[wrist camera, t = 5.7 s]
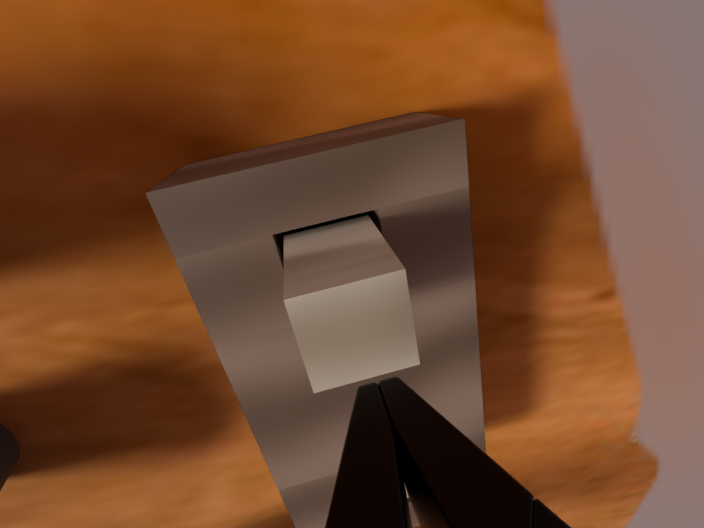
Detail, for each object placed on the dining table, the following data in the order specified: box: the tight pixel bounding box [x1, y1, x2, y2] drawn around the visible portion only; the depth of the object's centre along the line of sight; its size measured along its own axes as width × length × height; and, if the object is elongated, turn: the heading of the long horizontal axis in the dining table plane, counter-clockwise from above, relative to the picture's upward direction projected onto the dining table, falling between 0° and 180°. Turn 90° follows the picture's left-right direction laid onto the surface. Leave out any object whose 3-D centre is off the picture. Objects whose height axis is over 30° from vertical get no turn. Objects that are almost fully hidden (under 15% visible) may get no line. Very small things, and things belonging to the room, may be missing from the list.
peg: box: [283, 215, 420, 393], centre depth 12 cm, size 3×3×4 cm
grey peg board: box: [145, 112, 486, 528], centre depth 18 cm, size 20×10×5 cm, turn 11°
